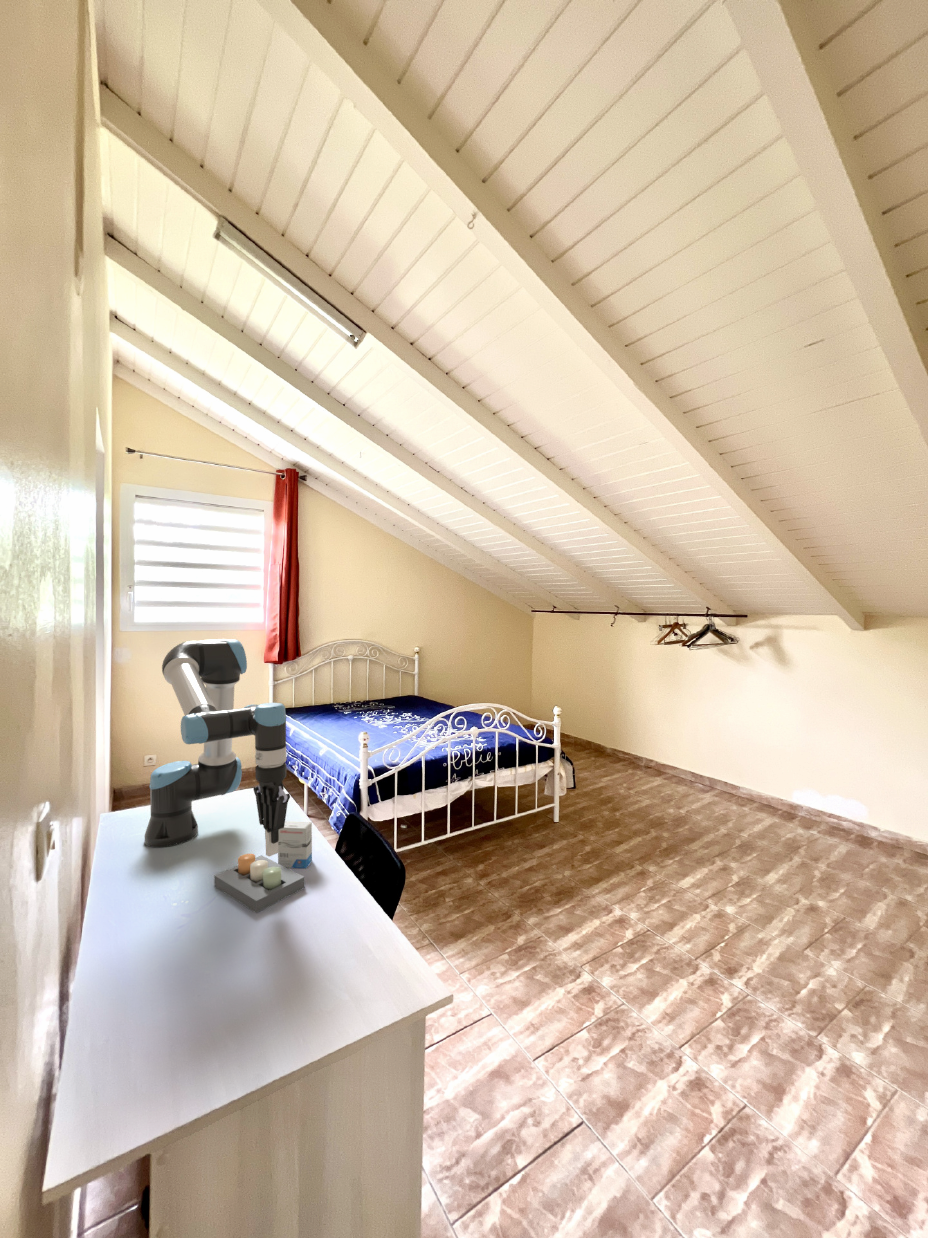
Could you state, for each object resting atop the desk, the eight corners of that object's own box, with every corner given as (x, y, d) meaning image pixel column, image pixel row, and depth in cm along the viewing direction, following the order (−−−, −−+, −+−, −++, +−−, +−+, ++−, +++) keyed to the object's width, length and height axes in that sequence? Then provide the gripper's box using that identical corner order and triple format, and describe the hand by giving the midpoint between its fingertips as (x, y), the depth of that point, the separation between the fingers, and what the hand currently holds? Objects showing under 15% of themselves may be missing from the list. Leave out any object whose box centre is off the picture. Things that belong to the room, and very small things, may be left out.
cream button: (247, 879, 139) (246, 865, 139) (262, 872, 143) (261, 858, 143) (256, 885, 137) (256, 870, 137) (271, 878, 140) (271, 863, 140)
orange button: (234, 872, 143) (234, 858, 143) (249, 866, 146) (249, 852, 146) (243, 877, 140) (243, 863, 140) (258, 871, 144) (258, 856, 144)
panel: (214, 886, 140) (214, 875, 140) (261, 865, 151) (261, 855, 151) (256, 913, 128) (256, 901, 128) (304, 888, 139) (304, 877, 139)
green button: (259, 887, 136) (259, 871, 136) (274, 879, 139) (274, 865, 139) (269, 892, 133) (269, 877, 133) (284, 885, 137) (284, 870, 136)
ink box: (312, 860, 154) (312, 821, 154) (306, 869, 149) (305, 828, 149) (285, 859, 155) (284, 820, 155) (277, 867, 150) (277, 827, 150)
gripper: (243, 762, 136) (244, 852, 137) (272, 772, 128) (273, 867, 129) (269, 756, 142) (270, 842, 143) (298, 764, 134) (299, 855, 135)
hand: (272, 853), depth 136 cm, fingers closed
